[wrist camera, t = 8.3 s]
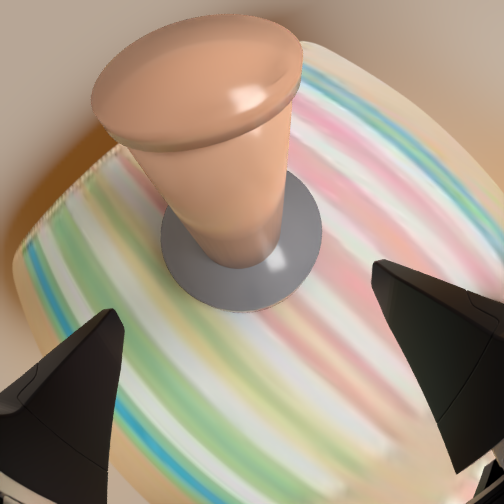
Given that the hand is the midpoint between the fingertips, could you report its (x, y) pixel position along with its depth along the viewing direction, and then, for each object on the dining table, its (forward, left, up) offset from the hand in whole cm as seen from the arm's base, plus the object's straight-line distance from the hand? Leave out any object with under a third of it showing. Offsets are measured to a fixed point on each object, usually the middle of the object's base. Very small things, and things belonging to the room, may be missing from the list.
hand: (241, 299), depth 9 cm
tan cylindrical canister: (+3, +5, -8) cm, 10 cm away
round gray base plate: (+4, +5, -11) cm, 12 cm away
